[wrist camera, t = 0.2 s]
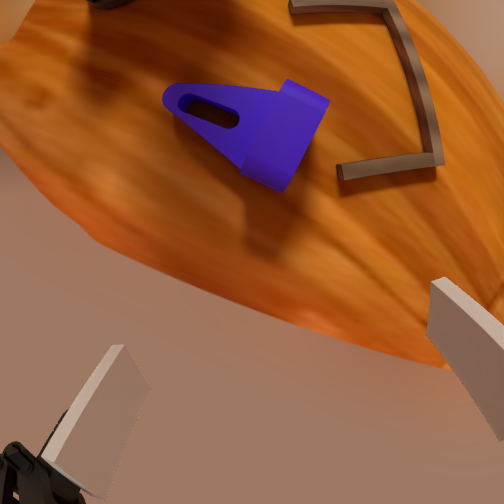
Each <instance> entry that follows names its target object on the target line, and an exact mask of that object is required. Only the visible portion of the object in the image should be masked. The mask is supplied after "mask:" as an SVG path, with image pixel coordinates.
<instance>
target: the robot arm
mask: <svg viewBox="0 0 504 504" xmlns="http://www.w3.org/2000/svg"><path fill="white" fill-rule="evenodd" d="M86 1H87V2H88V3H89V4H91V5H92V6H93V7H95V8H98V9H109V8H114V7H117V6H120V5H123V4H125V3H127V2H129V1H131V0H86ZM426 335H427V337H428V338H429V339H430V340H431V342H432V343H433V344H434V346H435V347H436V348H437V349H438V351H439V352H440V353H441V355H442V356H443V357H444V359H445V360H446V361H447V363H448V364H449V365H450V367H451V368H452V370H453V371H454V372H455V374H456V375H457V376H458V378H459V379H460V380H461V382H462V384H463V385H464V386H465V388H466V389H467V391H468V392H469V394H470V395H471V397H472V398H473V400H474V401H475V403H476V404H477V406H478V407H479V409H480V411H481V412H482V414H483V415H484V417H485V418H486V420H487V422H488V423H489V425H490V427H491V428H492V430H493V432H494V433H495V435H496V437H497V439H498V440H499V442H500V441H501V440H503V439H504V326H503V325H502V324H501V323H500V322H499V321H498V320H497V319H496V318H494V317H493V316H492V315H491V314H490V313H489V312H488V311H486V310H485V309H484V308H483V307H482V306H481V305H479V304H478V303H477V302H476V301H475V300H473V299H472V298H471V297H470V296H469V295H467V294H466V293H465V292H464V291H462V290H461V289H460V288H459V287H457V286H456V285H455V284H454V283H452V282H451V281H450V280H448V279H447V278H446V277H443V278H440V279H437V280H434V281H431V291H430V305H429V315H428V324H427V332H426ZM149 391H150V386H149V384H148V383H147V382H146V380H145V378H144V377H143V375H142V373H141V372H140V370H139V368H138V367H137V365H136V363H135V362H134V360H133V358H132V356H131V355H130V353H129V351H128V349H127V348H126V346H125V344H123V345H112V346H111V348H110V349H109V351H108V352H107V353H106V355H105V356H104V358H103V359H102V360H101V362H100V363H99V365H98V366H97V368H96V369H95V371H94V372H93V374H92V375H91V376H90V378H89V379H88V381H87V382H86V384H85V385H84V387H83V388H82V390H81V391H80V393H79V394H78V396H77V397H76V399H75V401H74V402H73V404H72V405H71V407H70V408H69V409H68V410H67V411H66V412H65V413H64V414H63V415H62V416H61V418H60V420H59V421H58V424H57V425H56V426H55V428H54V431H52V433H51V434H50V436H49V438H48V439H47V441H46V443H45V444H44V446H43V448H42V450H41V451H40V453H39V455H38V456H37V457H35V456H33V455H32V454H31V453H30V452H29V451H28V450H27V449H26V448H25V447H24V446H23V445H22V444H21V443H20V442H17V441H15V442H11V443H10V444H8V445H7V446H6V447H5V449H4V451H3V453H2V454H0V504H86V503H85V499H84V497H83V496H82V494H81V493H79V491H80V489H82V490H83V491H85V492H86V493H88V494H89V495H90V496H93V497H96V498H98V499H101V500H104V501H105V500H106V498H107V495H108V492H109V489H110V487H111V484H112V481H113V479H114V476H115V473H116V471H117V468H118V466H119V463H120V461H121V458H122V455H123V453H124V450H125V448H126V445H127V443H128V441H129V438H130V436H131V433H132V431H133V428H134V426H135V423H136V421H137V419H138V416H139V414H140V412H141V409H142V407H143V404H144V402H145V400H146V397H147V395H148V393H149ZM13 491H14V492H15V493H16V494H18V495H19V501H18V500H17V499H16V498H14V497H13Z"/></svg>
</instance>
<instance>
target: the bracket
mask: <svg viewBox="0 0 504 504" xmlns="http://www.w3.org/2000/svg"><path fill="white" fill-rule="evenodd" d="M195 100H198V101H202V102H204V103H207V104H210V105H212V106H215V107H218V108H220V109H223V110H225V111H228V112H230V113H233V114H235V115H237V116H239V117H240V121H239V123H238V125H237V126H236V127H234V128H231V129H226V128H223V127H220V126H218V125H216V124H213V123H211V122H208V121H206V120H203V119H200V118H198V117H195V116H192V115H190V114H187V106H188V105H189V103H191V102H192V101H195ZM162 101H163V104H164V106H165V107H166V108H167V109H168V110H170V111H171V112H172V113H173V114H175V115H176V116H177V117H178V118H180V119H181V120H182V121H183V122H185V123H186V124H187V125H188V126H190V127H191V128H192V129H193V130H195V131H196V132H197V133H198V134H199V135H201V136H202V137H203V138H204V139H205V140H207V141H208V142H209V143H210V144H211V145H213V146H214V147H215V148H216V149H217V150H219V151H220V152H221V153H222V154H223V155H224V156H226V157H227V158H228V159H229V160H230V161H231V162H233V163H234V164H235V165H236V166H237V167H238V168H240V169H241V170H240V174H242V175H244V176H247V177H249V178H251V179H253V180H255V181H257V182H259V183H261V184H264V185H266V186H268V187H270V188H272V189H274V190H276V191H278V192H280V193H283V192H284V190H285V189H286V188H287V186H288V184H289V183H290V181H291V179H292V177H293V175H294V173H295V171H296V169H297V167H298V165H299V163H300V161H301V159H302V157H303V155H304V153H305V151H306V149H307V147H308V145H309V143H310V141H311V139H312V137H313V135H314V133H315V131H316V130H317V128H318V126H319V124H320V122H321V120H322V118H323V116H324V114H325V112H326V109H327V107H328V104H329V101H330V100H329V99H327V98H325V97H323V96H321V95H319V94H317V93H315V92H313V91H311V90H309V89H307V88H305V87H303V86H301V85H299V84H297V83H295V82H293V81H291V80H289V79H286V81H285V82H284V84H283V86H282V87H281V89H280V91H279V92H277V91H271V90H264V89H257V88H248V87H239V86H229V85H216V84H196V83H176V84H173V85H171V86H169V87H168V88H167V89H166V90H165V92H164V94H163V97H162Z"/></svg>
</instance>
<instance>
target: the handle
mask: <svg viewBox="0 0 504 504" xmlns="http://www.w3.org/2000/svg"><path fill="white" fill-rule="evenodd" d="M288 6H289V9H290V11H291V14H292V15H294V14H306V13H328V12H351V13H372V14H382V16H383V18H384V20H385V22H386V24H387V27H388V29H389V31H390V34H391V36H392V38H393V41H394V43H395V46H396V48H397V51H398V54H399V56H400V59H401V62H402V65H403V68H404V71H405V74H406V77H407V80H408V83H409V87H410V90H411V94H412V97H413V101H414V105H415V109H416V113H417V117H418V121H419V126H420V130H421V135H422V140H423V146H424V151H425V153H415V154H406V155H398V156H390V157H383V158H375V159H368V160H362V161H355V162H349V163H343V164H337V165H336V166H337V171H338V176H339V179H341V180H348V179H354V178H360V177H366V176H372V175H378V174H384V173H390V172H397V171H404V170H411V169H418V168H426V167H433V166H442V165H445V161H444V154H443V148H442V142H441V137H440V131H439V127H438V122H437V117H436V113H435V109H434V105H433V101H432V97H431V94H430V90H429V87H428V83H427V80H426V77H425V74H424V71H423V68H422V65H421V62H420V59H419V56H418V54H417V51H416V49H415V46H414V44H413V41H412V39H411V36H410V34H409V32H408V29H407V27H406V25H405V23H404V20H403V18H402V16H401V14H400V12H399V10H398V8H397V6H396V4H395V2H394V1H393V0H289V3H288Z"/></svg>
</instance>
